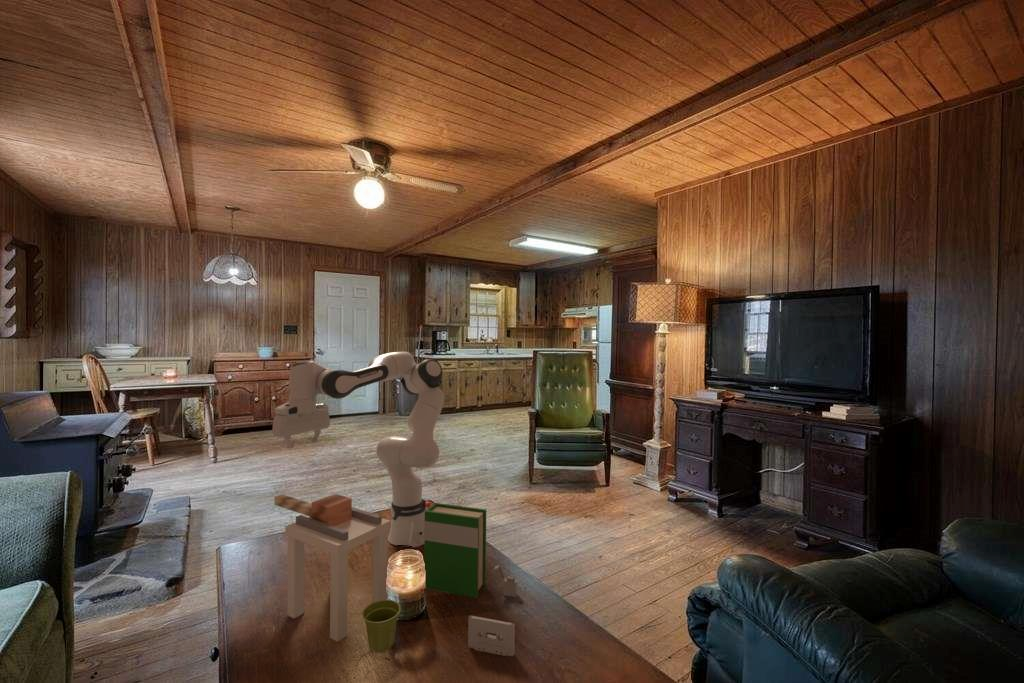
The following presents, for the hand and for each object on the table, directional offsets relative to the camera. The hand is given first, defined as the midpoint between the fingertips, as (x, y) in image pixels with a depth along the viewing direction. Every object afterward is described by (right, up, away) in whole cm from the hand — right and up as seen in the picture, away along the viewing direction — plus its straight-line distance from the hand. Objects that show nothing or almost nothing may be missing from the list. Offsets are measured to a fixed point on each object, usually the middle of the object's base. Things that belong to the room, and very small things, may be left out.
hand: (302, 445), depth 157 cm
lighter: (+72, -40, -22) cm, 86 cm away
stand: (+25, -40, -31) cm, 56 cm away
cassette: (+69, -41, -47) cm, 93 cm away
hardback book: (+57, -40, -18) cm, 72 cm away
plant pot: (+41, -40, -45) cm, 73 cm away
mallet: (+13, -14, -25) cm, 32 cm away
